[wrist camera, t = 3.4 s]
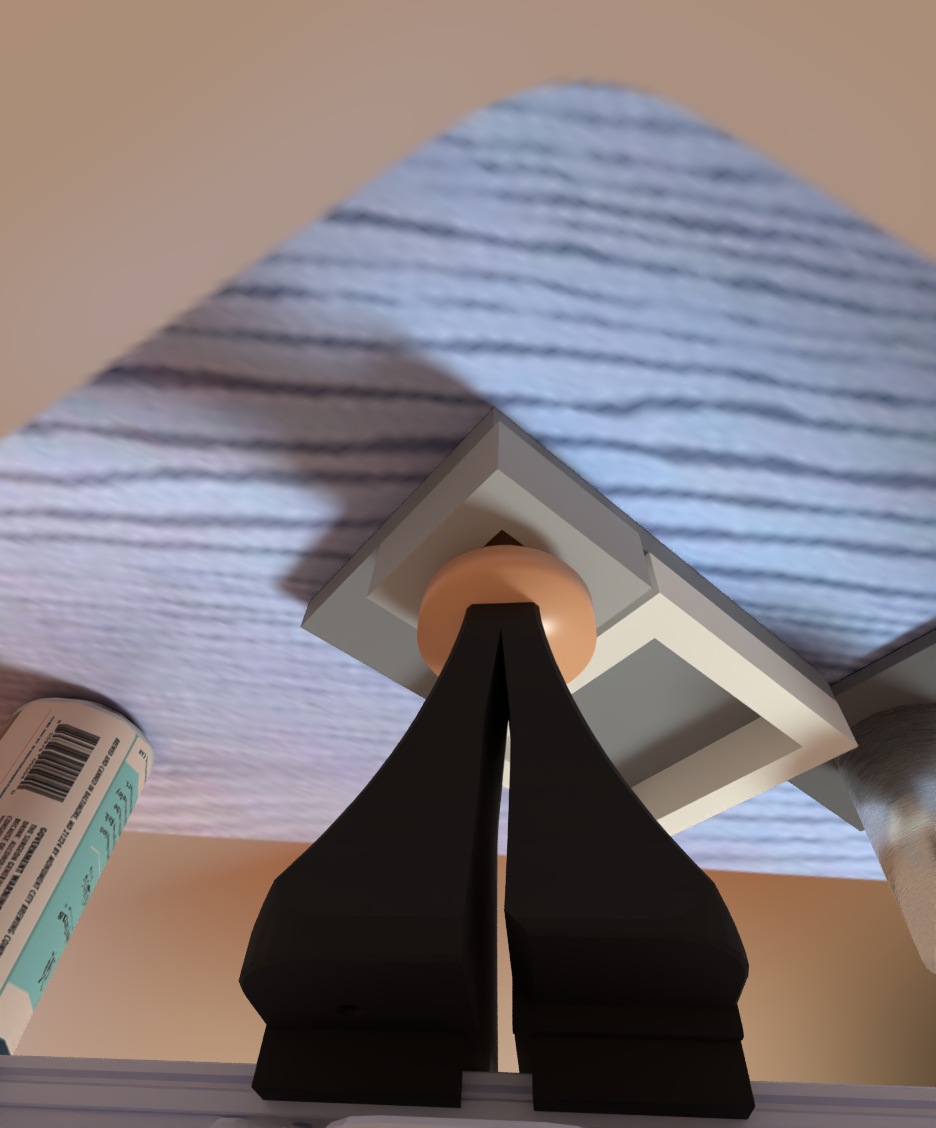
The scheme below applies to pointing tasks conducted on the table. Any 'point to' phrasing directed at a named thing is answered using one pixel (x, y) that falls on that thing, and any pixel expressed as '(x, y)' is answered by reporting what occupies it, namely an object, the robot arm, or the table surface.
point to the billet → (900, 809)
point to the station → (599, 630)
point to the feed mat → (873, 712)
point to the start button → (509, 601)
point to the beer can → (57, 834)
